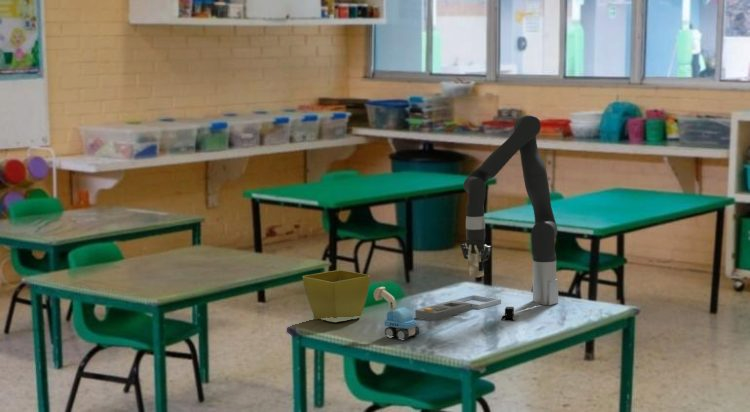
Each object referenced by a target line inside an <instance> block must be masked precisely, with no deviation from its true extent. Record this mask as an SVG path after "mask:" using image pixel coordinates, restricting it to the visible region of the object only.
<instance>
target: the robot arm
mask: <svg viewBox="0 0 750 412" xmlns="http://www.w3.org/2000/svg"><path fill="white" fill-rule="evenodd" d="M541 123H542V122H541V120H540V119H539V118H538V116H536V115H533V114H525V115H520V116H519V117H517V118H516V119H515V121H514V123H513V132H512V133H511V135H510V136H509V137H508V138H507V139H506V140H505V141H504V142H503V143H502V144H501V145H500V146H498V147H497V148H495V149H494V151H493V152H491V154H489V155H488V157H487V158H486V159H485V160H484V161H483V163H481V164H480V166H478V168H476V169H474V171H472V172H471V173H470V174H469V175H468V176H467V177H466V179H465V180H464V182H463V189H464V191H465V193H467V194H468V201H467V202H466V205H465V214H466V215H465V217H466V218H465V239H466V242H465V243H462V244H460V248H461V253H462V255H463V259H465V260H467V261H468V262H469V254H472V253H476V254H478V260H479V271H483V270H485V261H488V260H489V259H490V256H491V255H490V253H491V251H492V245H487V244H486V241H485V239H486V220H485V219H486V218H485V205H484V204H485V199H486V193H487V192H486V191H487V188H486V183H487V182H488V181H489V180H491V179H494V178H495V177H496V176H497V175H498V173H500V171H502V169H503V168H504V167H505V166H506V164H508V162H509V161H511V159H512V158H513V156H514V155H515V154H517V152H519V154H520V163H521V167H522V169H521V170H522V174H523V182H524V187H525V191H526V194H527V196H528V199H529V201H530V203H531V206H532V210H533V215H534V225H533V226H532V229H531V233H530V234H531V237H530V238H531V239H530V240H531V255H532V302H533V303H536V304H539V305H540V306H552V305H556V304H559V279H557V253H556V247H555V246H556V242H555V241H556V237H557V235H558V226H557V222H556V219H555V215H554V212H553V209H552V202H551V201H552V200H551V193H550V186H549V185H550V184H549V178H548V174H547V168H546V166H545V163H544V161H543V158H542V157H541V154H540V152H539V147H538V144H537V142H538V141H537V135H538V134H539V133H540V132H541V129H542V128H541V127H542V124H541ZM480 253H481V254H480Z"/></svg>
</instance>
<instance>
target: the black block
mask: <svg viewBox="0 0 750 412" xmlns="http://www.w3.org/2000/svg"><path fill="white" fill-rule="evenodd" d="M518 317H519V315H515V306H505V308H504V315H503V316H502V318H501V319H500V321H502V322H503V321H504V322H515V321H516V320H517V319H518Z"/></svg>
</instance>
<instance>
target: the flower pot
mask: <svg viewBox="0 0 750 412" xmlns="http://www.w3.org/2000/svg"><path fill="white" fill-rule="evenodd" d="M370 280H371V275H369V274H365V273H360V272H355V271H349V270H342V269H337V270H332V271H330V270H329V271H325V272H319V273H313V274H306V275H303V276H302V282H303V286H304V291H305V293H306V297H307V301H308V304H309V307H310V309H311V311H312V314H313V317H314V319H315V320H318V319H321V318H326V317H327V318H330V317H333V318H337V317H354V316H362V314H363V310H364V309H365V304H366V301H367V297H368V293H369V289H370V282H371V281H370Z"/></svg>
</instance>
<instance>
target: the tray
mask: <svg viewBox="0 0 750 412" xmlns="http://www.w3.org/2000/svg"><path fill="white" fill-rule="evenodd" d="M450 301H458V302H464V303H470V304H472V309H476V310H482V309H486V308H490V307H493V306H496V305H500V304H502V298H496V297H490V296H484V295H477V294H471V295H467V296H463V297H459V298H455V299H450Z"/></svg>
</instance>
